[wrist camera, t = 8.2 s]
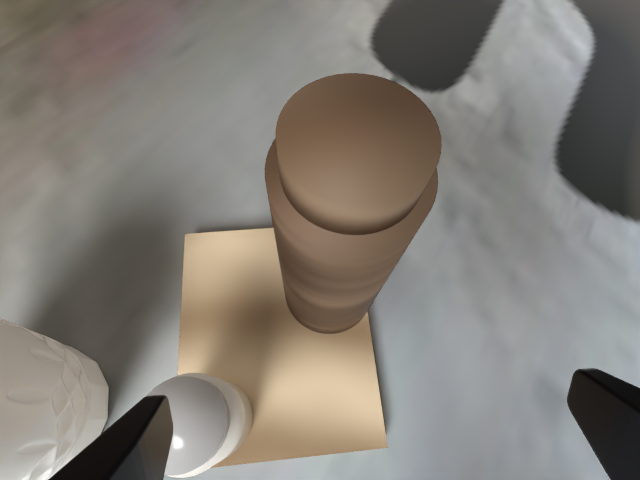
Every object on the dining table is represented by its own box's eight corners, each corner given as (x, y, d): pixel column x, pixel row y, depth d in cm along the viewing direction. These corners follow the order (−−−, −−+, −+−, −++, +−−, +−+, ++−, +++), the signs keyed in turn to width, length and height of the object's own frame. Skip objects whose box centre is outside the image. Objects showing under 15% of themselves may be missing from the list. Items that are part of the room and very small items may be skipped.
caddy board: (382, 445, 19) (387, 447, 18) (179, 468, 18) (172, 471, 17) (352, 230, 24) (354, 222, 23) (190, 242, 23) (184, 234, 22)
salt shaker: (253, 455, 18) (230, 476, 12) (179, 463, 17) (121, 489, 12) (252, 378, 19) (230, 365, 13) (182, 384, 19) (132, 375, 13)
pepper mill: (388, 306, 21) (499, 167, 9) (311, 351, 20) (322, 260, 8) (342, 236, 22) (385, 40, 10) (269, 274, 21) (225, 102, 9)
